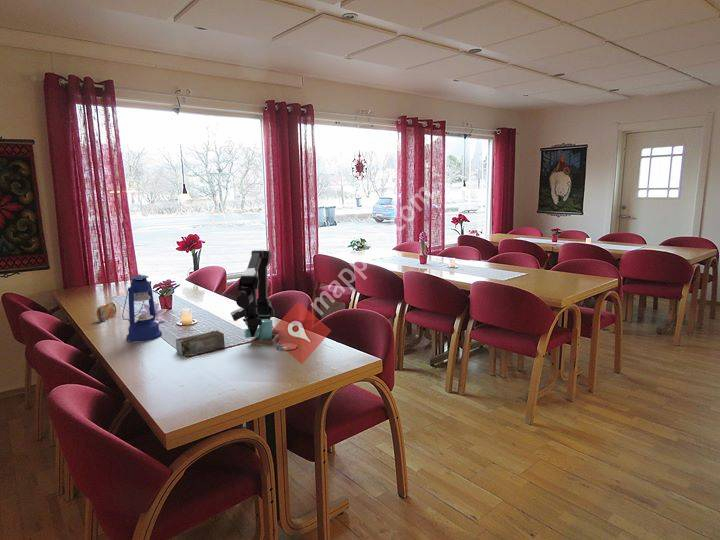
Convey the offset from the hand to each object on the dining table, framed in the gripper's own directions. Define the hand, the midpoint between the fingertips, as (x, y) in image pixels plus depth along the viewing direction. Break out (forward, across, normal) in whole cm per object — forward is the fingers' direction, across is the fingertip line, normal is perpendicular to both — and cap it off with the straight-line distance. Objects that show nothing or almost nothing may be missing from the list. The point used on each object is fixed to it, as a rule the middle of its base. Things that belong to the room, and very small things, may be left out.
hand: (251, 335), depth 207 cm
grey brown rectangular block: (+4, -2, -22) cm, 22 cm away
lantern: (+4, -32, -45) cm, 55 cm away
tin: (+4, -76, -64) cm, 100 cm away
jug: (+3, 0, +3) cm, 4 cm away
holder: (+4, 0, +6) cm, 7 cm away
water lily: (+4, -56, -40) cm, 70 cm away
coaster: (+4, +12, +13) cm, 18 cm away
